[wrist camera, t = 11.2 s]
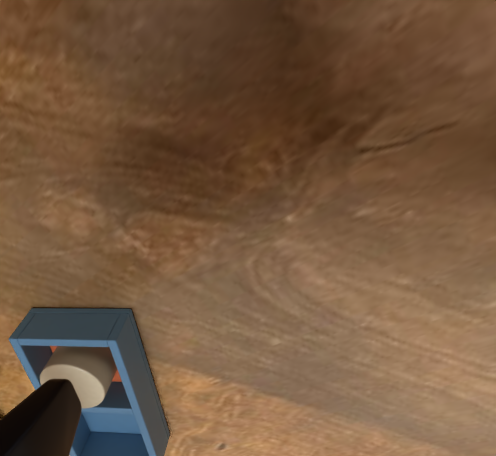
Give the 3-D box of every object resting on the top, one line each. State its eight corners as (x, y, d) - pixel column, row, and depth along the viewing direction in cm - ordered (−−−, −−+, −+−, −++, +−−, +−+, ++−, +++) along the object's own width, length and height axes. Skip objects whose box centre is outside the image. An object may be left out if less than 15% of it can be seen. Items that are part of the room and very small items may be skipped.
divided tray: (131, 308, 25) (115, 340, 23) (170, 434, 31) (160, 468, 29) (31, 307, 26) (7, 339, 24) (88, 430, 32) (73, 463, 30)
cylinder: (111, 330, 25) (94, 365, 23) (127, 373, 27) (112, 410, 25) (52, 329, 26) (29, 364, 23) (71, 372, 27) (51, 407, 25)
